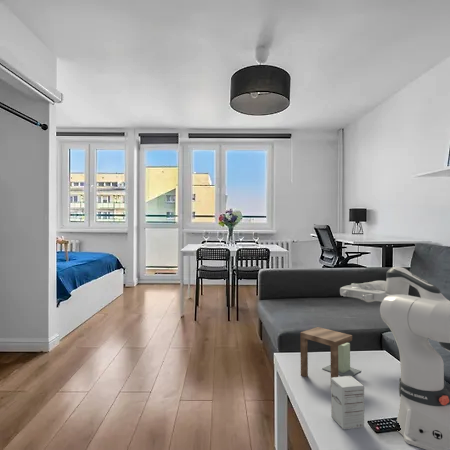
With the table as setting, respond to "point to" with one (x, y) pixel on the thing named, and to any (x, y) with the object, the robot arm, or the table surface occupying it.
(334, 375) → the shelf stand
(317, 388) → the table surface
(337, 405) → the supplement box
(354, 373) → the slate mat
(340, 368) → the sage block
